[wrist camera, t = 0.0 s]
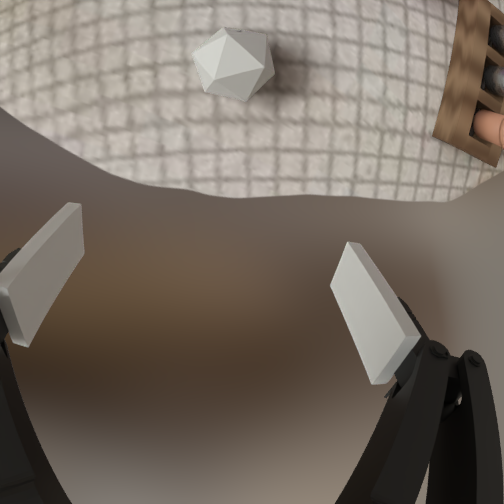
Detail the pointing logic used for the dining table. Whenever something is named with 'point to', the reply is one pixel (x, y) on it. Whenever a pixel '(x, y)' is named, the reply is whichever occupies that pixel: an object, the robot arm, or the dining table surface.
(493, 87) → the grey plug mid
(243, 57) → the die
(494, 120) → the peach plug
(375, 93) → the dining table surface
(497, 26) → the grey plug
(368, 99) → the dining table surface
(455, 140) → the wooden compartment tray
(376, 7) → the dining table surface
